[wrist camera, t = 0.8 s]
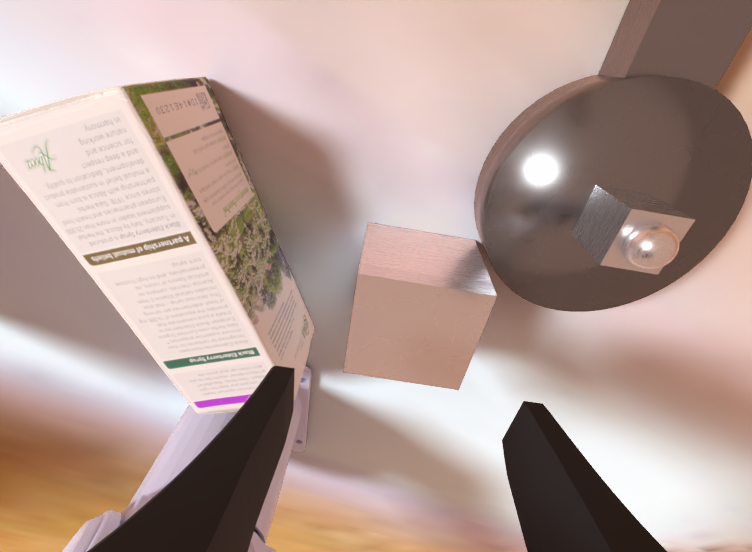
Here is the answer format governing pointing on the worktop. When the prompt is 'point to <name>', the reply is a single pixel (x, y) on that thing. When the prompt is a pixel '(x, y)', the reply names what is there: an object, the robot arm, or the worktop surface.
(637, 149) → the ratchet
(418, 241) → the beige small block
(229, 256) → the syrup box
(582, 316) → the worktop surface
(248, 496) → the robot arm
